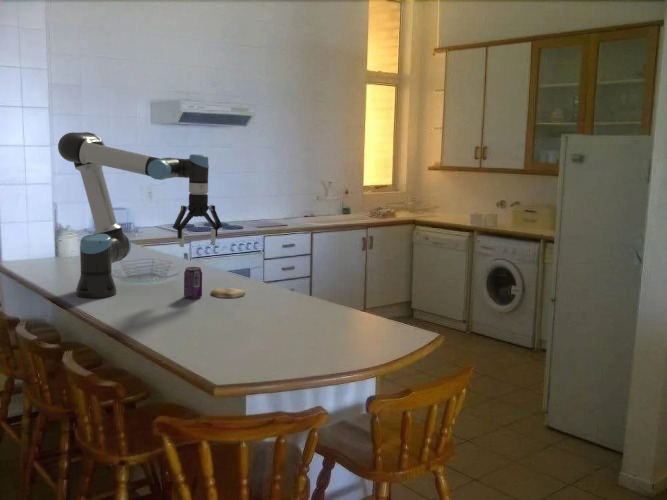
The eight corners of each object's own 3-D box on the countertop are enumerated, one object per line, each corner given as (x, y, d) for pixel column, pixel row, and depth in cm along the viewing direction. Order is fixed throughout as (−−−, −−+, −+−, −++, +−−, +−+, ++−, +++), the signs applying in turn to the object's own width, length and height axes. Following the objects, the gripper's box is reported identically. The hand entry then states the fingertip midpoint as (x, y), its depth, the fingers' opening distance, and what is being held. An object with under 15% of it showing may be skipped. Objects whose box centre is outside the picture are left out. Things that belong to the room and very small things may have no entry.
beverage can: (204, 296, 281) (204, 267, 279) (198, 300, 275) (199, 270, 272) (187, 294, 282) (187, 266, 280) (181, 299, 275) (181, 269, 273)
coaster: (214, 298, 278) (214, 296, 278) (207, 290, 290) (207, 288, 290) (248, 297, 283) (248, 295, 283) (240, 289, 296) (240, 287, 296)
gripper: (172, 194, 267) (171, 248, 271) (230, 194, 281) (229, 245, 285) (165, 192, 273) (164, 245, 277) (222, 192, 287) (221, 242, 291)
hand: (197, 245), depth 281 cm, fingers open, 13 cm apart
